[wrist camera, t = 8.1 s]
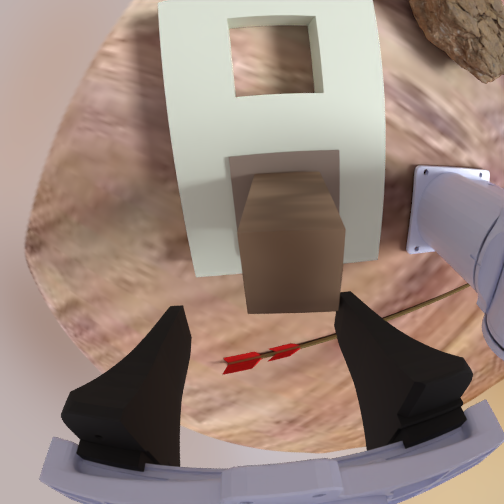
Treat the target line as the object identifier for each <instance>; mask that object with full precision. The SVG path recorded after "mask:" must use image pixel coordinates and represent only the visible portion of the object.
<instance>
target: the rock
mask: <svg viewBox="0 0 504 504" xmlns="http://www.w3.org/2000/svg"><path fill="white" fill-rule="evenodd" d="M409 3H410V7H411V9H412V11H413V15H414V17H415V19H416V20H417V22H418V25H419V27H420V28H421V29H422V30H423V31H424V34H425V37H426V38H427V39H428V40H429V41H430V42H431V43H433V44H434V45H435V46H437V47H438V48H440V49H441V50H443V51H444V52H446V53H447V55H448V56H449V57H450V58H451V59H452V60H454V61H455V62H456V63H457V64H459V65H460V66H461V67H462V68H464V69H466V70H468V71H469V72H470V73H471V74H473V75H474V76H475V77H476V78H477V79H478V80H480V81H481V82H483V83H485V84H487V83H488V82H493V81H494V80H495V79H497V78H498V77H500V76H501V75H504V5H503V4H502V1H501V0H409Z"/></svg>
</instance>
